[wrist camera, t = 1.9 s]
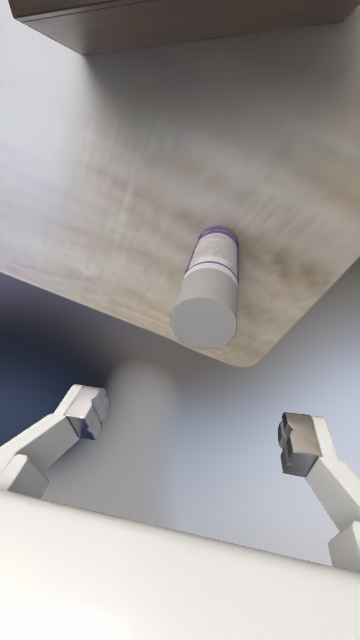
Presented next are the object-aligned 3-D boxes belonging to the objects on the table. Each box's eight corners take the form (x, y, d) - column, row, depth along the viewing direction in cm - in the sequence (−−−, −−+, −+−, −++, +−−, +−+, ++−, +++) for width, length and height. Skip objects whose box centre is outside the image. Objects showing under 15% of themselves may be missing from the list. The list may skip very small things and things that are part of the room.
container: (221, 272, 29) (211, 361, 18) (189, 251, 29) (156, 329, 17) (247, 240, 27) (254, 320, 15) (212, 216, 26) (191, 281, 14)
